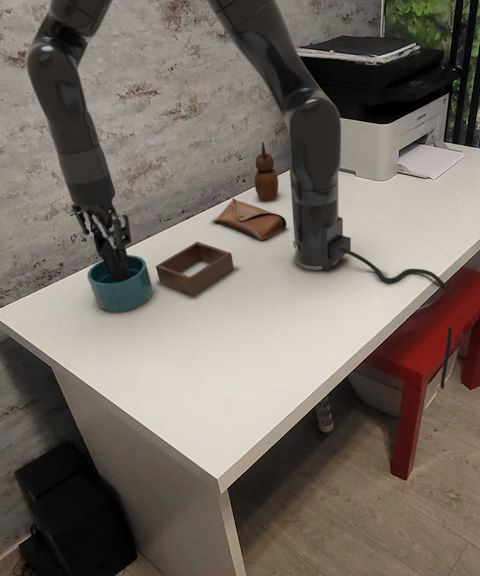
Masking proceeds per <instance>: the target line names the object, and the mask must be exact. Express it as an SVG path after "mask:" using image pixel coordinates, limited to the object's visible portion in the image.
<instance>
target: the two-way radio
mask: <svg viewBox="0 0 480 576" xmlns="http://www.w3.org/2000/svg"><path fill="white" fill-rule="evenodd" d="M107 231H108V232H109V231H110V229H108V230H107ZM113 238H114V240H115V241H116V239H115V234H114V235H113ZM99 245H100V244H97V245H96V246H95V250H96V252H97V254H98V253H99V254H100V255H101V257H102V258H101V257H100V258H101V259H102V260H104V263H105V266H106V268H107V271H108V274H109V275H111V276H112V279H113V282H114V283H117V282H122V281H125V280H127V279H130V278H132V276H131V273H130V270H129V268H128V263H126V264H124V265H122V266H120V265H118V264H117V262H116V258H115V255H114V252H113V249H112V248H113V247H112V246H111V244H110V242H109V240H108V238H106V241H104V243H103V245H102V246H99Z"/></svg>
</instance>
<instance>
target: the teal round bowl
mask: <svg viewBox="0 0 480 576" xmlns="http://www.w3.org/2000/svg"><path fill="white" fill-rule="evenodd" d="M127 256H128V259H129V261H128V262H127V263H128V268H129V270H130V273H131V276H132V278H130V279H127V280H125V281H122V282H117V283H114V282H113V279H112V276H111V275H109V274H108V271H107V268H106V266H105V263H104V260H103V259H102V260H100V261H98V262H97V263H94V265H93V266H92V267H90V269H89V270H88V271H87V280H88V283H89V286H90V288H91V291H92V294H93V296H94V297H93V298H94V299H95V302H96V304H97V305H98V307H99V308H101V309H103V310H106V311H109V312H115V313H117V312H118V313H119V312H120V313H121V312H127V311H130V310H133V309H136V308H138V307H140V306H142V305H144V304H145V303H146V302H148V301H149V299H150V298H151V297H152V295H153V293H154V288H153V284H152V280H151V276H150V273H149V269H148V266H147V262H146V261H145V259H144V258H143V257H140V256H138V255H132V254H127Z"/></svg>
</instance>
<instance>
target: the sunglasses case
mask: <svg viewBox="0 0 480 576" xmlns="http://www.w3.org/2000/svg"><path fill="white" fill-rule="evenodd" d="M213 222H214V223H217V224H221V225H224V226H227V227H229V228H232V229H234V230H236V231H239V232H241V233H243V234H244V235H247V236H250V237H253V238H255V239H259V240H267V239H270V238H273V237H275V236H277V235H280V234H281V233H283V232H284V231H285V230H286V228H287V221H286V218H285V217H284V216H282V215H280V214H278V213H274V212H271V211H268V210H266V209H263V208H261V207H258V206H255V205H252V204H249V203H246V202H244V201H239V200H238V199H236V198H232V199H231V201H230V203H229V204H228V205H227V206H226V207H225V208H224V209H223V211H222V212H221V213H219V216H218V217H217V218H216V219H214V220H213Z"/></svg>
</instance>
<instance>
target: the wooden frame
mask: <svg viewBox="0 0 480 576" xmlns="http://www.w3.org/2000/svg"><path fill="white" fill-rule="evenodd" d="M199 261H200V262H201V261H202V262H205V263H208V265H207V266H205V267H204V268H203V267H202V268H201V269H200V270H198V271H197V272H195V273H194V274H193V275H191V276H189V275H186V274H184V273H182V272H183V271H185V270H187V269H189V268H190V267H192V266H194V265H195V264H196V263H198V262H199ZM234 270H235V267H234V260H233V255H232V252H229V251H227V250H224V249H221V248H217V247H215V246H212V245H208V244H206V243H203V242H200V241H196V242H194V243H192V244H191V245H189V246H187V247H185V248H184V249H182V250H181V251H179V252H177V253H175V254H173V255H172V256H170V257H168V258H167V259H165V260H164V261H162V262H159V263H158V264H157V265H155V271H156V273H157V277H158V281H159V283H160V284H162V285H165V286H167V287H169V288H171V289H174V290H176V291H179V292H182V293H184V294H186V295H188V296H191V297H196V296H197V295H199V294H200V293H202V292H203V291H205V290H206V289H208V288H209V287H210V286H212V285H214V283H217V282H218V281H220V280H221V279H222V278H224V277H225V276H227V275H228V274H230V273H231V272H234Z"/></svg>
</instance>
